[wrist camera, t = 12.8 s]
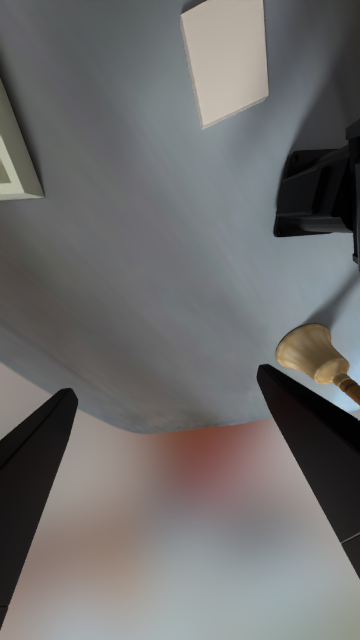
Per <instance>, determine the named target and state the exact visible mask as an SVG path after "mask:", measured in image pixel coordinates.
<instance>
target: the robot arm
mask: <svg viewBox="0 0 360 640" xmlns="http://www.w3.org/2000/svg"><path fill="white" fill-rule="evenodd" d="M345 130H346V140H349V145H347V146H344V147H342V148H340V149H323V150H302V151H295V152H293V153H292V154H290V155H289V157H288V159H287V163H286V169H285V174H284V179H283V182H282V184H281V189H280V195H279V200H278V206H277V211H276V215H277V216H276V222H275V227H274V236H275V237H291V236H304V235H317V234H330V233H333V232H340V233H353V239H354V253H353V261H354V262H356V263H357V264H358V266H359V271H360V119H359V120H358V121H356V122H355V123H353V124H352V125H350V126H349V127H347V128H346V129H345ZM293 157H295V162H293ZM279 230H281V232H280V234H278V231H279ZM257 382H258V384H259V386H260V389H261V391H262V394H263V396H264V398H265V401H266V403H267V406H268V408H269V410H270V412H271V414H272V416H273V418H274V420H275V422H276V424H277V426H278V427H279V429H280V431H281V433H282V435H283V436H284V439H285V440H286V442H287V444H288V446H289V448H290V450H291V452H292V453H293V455H294V457H295V459H296V461H297V463H298V465H299V467H300V468H301V470H302V472H303V474H304V476H305V478H306V480H307V481H308V483H309V485H310V487H311V489H312V491H313V493H314V495H315V496H316V498H317V500H318V502H319V504H320V506H321V507H322V509H323V511H324V513H325V515H326V517H327V519H328V521H329V522H330V524H331V526H332V528H333V530H334V532H335V534H336V535H337V537H338V539H339V541H340V543H342V547H343V549H344V551H345V553H346V555H347V556H348V558H349V560H350V562H351V564H352V565H353V568H354V569H355V571H356V573H357V575H358V577H359V579H360V420H358V419H357V418H355V417H354V416H352V415H350V414H349V413H347V412H346V411H344V410H342V409H341V408H339V407H337V406H336V405H334V404H333V403H331V402H329V401H328V400H326V399H324V398H323V397H321V396H320V395H318V394H316V393H315V392H313V391H312V390H310V389H308V388H307V387H305V386H303V385H302V384H300V383H299V382H297V381H295V380H294V379H292V378H290V377H289V376H287V375H286V374H284V373H282V372H281V371H279V370H277V369H276V368H274V367H273V366H271V365H269V364H262V365H259V368H258V372H257ZM77 406H78V398H77V396H76V395H75V393H74V391H73V389H72V388H65V389H61V390H59V391H58V392H57V393H56V394H55V395H53V396H52V397H51V398H50V399H49V400H47V401H46V402H45V403H44V404H43V405H42V406H40V407H39V408H38V409H37V410H36V411H34V412H33V413H32V414H31V415H30V416H29V417H28V418H26V419H25V420H24V421H23V422H21V423H20V424H19V425H18V426H17V427H16V428H14V429H13V430H12V431H11V432H10V433H8V434H7V435H6V436H5V437H4V438H3V439H1V440H0V630H1V627H2V624H3V621H4V618H5V616H6V613H7V610H8V605H9V604H10V601H11V599H12V596H13V593H14V590H15V587H16V585H17V582H18V579H19V576H20V574H21V571H22V568H23V565H24V562H25V560H26V557H27V554H28V551H29V549H30V546H31V543H32V540H33V537H34V535H35V532H36V529H37V526H38V523H39V521H40V518H41V515H42V512H43V510H44V507H45V504H46V501H47V498H48V496H49V493H50V490H51V487H52V485H53V482H54V479H55V476H56V473H57V471H58V468H59V465H60V463H61V460H62V457H63V454H64V451H65V449H66V446H67V443H68V440H69V437H70V433H71V429H72V425H73V422H74V417H75V414H76V410H77Z"/></svg>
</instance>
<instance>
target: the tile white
mask: <svg viewBox="0 0 360 640" xmlns="http://www.w3.org/2000/svg"><path fill="white" fill-rule="evenodd" d="M180 28H181V33H182V37H183V42H184V47H185V52H186V57H187V62H188V67H189V71H190V76H191V81H192V86H193V91H194V96H195V100H196V105H197V110H198V115H199V120H200V125H201V130H203V129H205V128H207V127H210V126H212V125H214V124H216V123H218V122H220V121H222V120H225V119H227V118H229V117H231V116H233V115H235V114H237V113H240V112H242V111H244V110H246V109H248V108H250V107H252V106H255V105H257V104H259V103H261V102H263V101H264V100H265V99H266V98H267V96H268V95H269V94H268V77H267V60H266V44H265V27H264V10H263V0H207V1H205V2H203V3H201V4H199V5H198V6H196V7H194V8H192V9H190V10H188V11H187V12H185V13H183V14H181V21H180Z"/></svg>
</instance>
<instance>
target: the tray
mask: <svg viewBox="0 0 360 640" xmlns="http://www.w3.org/2000/svg"><path fill="white" fill-rule="evenodd" d="M34 198H45V196H44V193H43V191H42V188H41V185H40V183H39V180H38V177H37V175H36V172H35V169H34V166H33V164H32V161H31V158H30V156H29V153H28V150H27V148H26V145H25V142H24V140H23V137H22V134H21V131H20V129H19V126H18V123H17V121H16V118H15V115H14V113H13V110H12V107H11V105H10V102H9V99H8V96H7V94H6V91H5V88H4V86H3V83H2V80H1V78H0V200H17V199H34Z"/></svg>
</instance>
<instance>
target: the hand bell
mask: <svg viewBox="0 0 360 640" xmlns="http://www.w3.org/2000/svg"><path fill="white" fill-rule="evenodd" d="M276 359H277V361H278V362H279V364H281V365H282V366H284V367H287V368H291V369H298V370H300V371H302V372H304V373H305V374H307V375H308V376H309V377H311V378H312V379H313V380H314V381H316V382H317V383H319V384H330V383H334V384H335V385H336V386H338V387H339V388H340V389H341V390H342V391H343V392H345V393H346V394H347V395H348V396H349V397H350V398H351V399H353V400H354V401H355V402H356V403H357V404H359V405H360V386H359V385H358V384H357V383H356V382H355V381H354V380H352V379H351V378H350V377H349V376H348V375H347V374H346V373H347V372H348V370H349V366H350V365H349V362H348V361H347V360H346V359H345V358H344V357H343V356H342V355H341V354H340V353H339V352H338V351H337V350H336V349H335V348H334V347H333V345H332V343H331V335H330V332H329V331H328V329H327V328H326V327H324V326H323V325H319V324H308V325H304V326H301V327H299V328H297V329H295V330H293V331H292V332H290V333H289V334H288V335H287V336H286V337H285V338H284V339H283V340H282V341H281V342H280V344H279V346H278V348H277V350H276Z"/></svg>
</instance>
